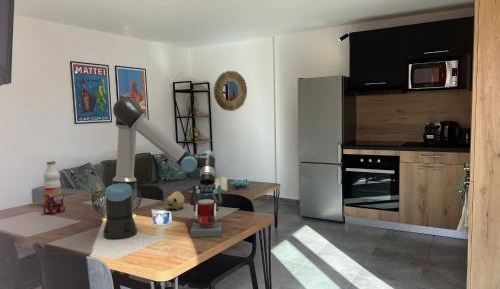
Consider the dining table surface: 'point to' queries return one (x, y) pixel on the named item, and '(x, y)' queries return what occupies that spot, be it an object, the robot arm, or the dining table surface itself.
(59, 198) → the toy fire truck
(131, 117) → the robot arm
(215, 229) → the grey flat block
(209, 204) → the canned food
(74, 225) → the dining table surface
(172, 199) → the tan rounded lump
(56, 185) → the fruit juice
